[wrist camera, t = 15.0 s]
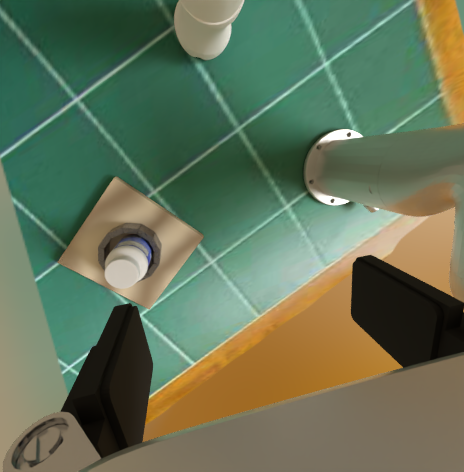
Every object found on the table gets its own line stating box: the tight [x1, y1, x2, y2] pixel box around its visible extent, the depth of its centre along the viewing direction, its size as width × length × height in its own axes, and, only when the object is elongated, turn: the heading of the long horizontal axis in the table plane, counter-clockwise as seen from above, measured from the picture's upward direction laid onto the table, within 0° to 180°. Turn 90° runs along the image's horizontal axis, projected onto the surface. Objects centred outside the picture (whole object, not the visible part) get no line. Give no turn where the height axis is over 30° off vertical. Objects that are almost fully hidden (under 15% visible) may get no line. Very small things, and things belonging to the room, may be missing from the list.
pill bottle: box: [105, 234, 153, 289], centre depth 35 cm, size 5×5×10 cm
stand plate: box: [58, 177, 204, 309], centre depth 40 cm, size 16×16×2 cm
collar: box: [98, 223, 162, 283], centre depth 38 cm, size 9×9×3 cm
